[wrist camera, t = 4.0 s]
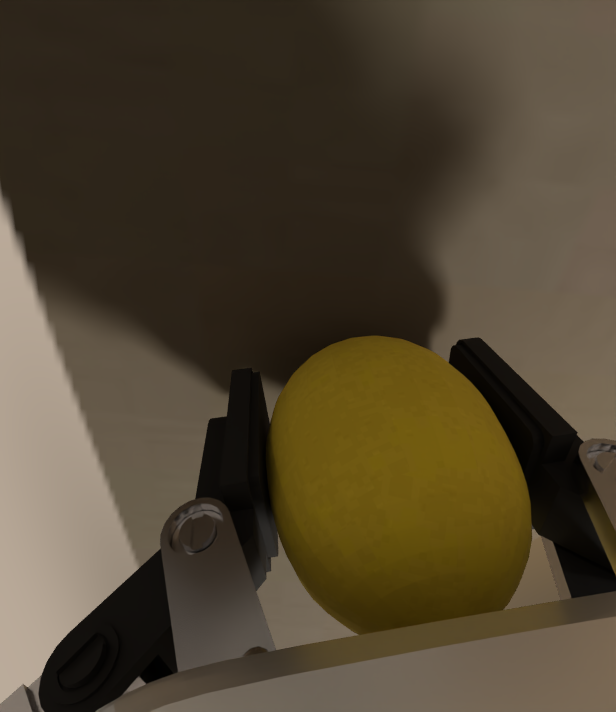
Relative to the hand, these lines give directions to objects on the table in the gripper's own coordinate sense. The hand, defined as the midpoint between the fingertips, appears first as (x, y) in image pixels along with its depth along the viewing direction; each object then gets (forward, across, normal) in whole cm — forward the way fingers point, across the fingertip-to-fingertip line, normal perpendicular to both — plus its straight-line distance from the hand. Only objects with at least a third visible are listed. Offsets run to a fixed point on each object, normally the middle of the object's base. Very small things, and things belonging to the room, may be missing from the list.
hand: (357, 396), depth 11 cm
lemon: (+2, 0, 0) cm, 2 cm away
